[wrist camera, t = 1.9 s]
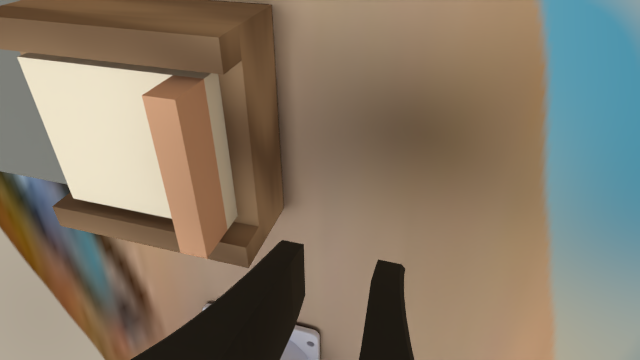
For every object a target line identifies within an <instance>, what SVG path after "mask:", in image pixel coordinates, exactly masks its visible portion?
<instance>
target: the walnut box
mask: <svg viewBox="0 0 640 360" xmlns="http://www.w3.org/2000/svg"><path fill="white" fill-rule="evenodd" d="M0 49H3V50H11V51H20V54H21V55H23V54H25V53H28V52H29V53H37V54H46V55H55V56H64V57H72V58H81V59H90V60H99V61H107V62H116V63H125V64H133V65H142V66H151V67H160V68H168V69H177V70H186V71H195V72H203V73H212V74H218V77H219V84H220V91H221V98H222V106H223V113H224V120H225V128H226V135H227V142H228V149H229V157H230V164H231V171H232V179H233V186H234V193H235V200H236V208H237V215H238V216H237V217H236V219H235V220H234V222H233V223H232V225H231V226H230V227H229V229H228V230H227V232H226V233H225V234H224V236H223V237H222V239H221V240H220V241H219V243H218V244H217V246H216V247H215V248H214V250H213V251H212V253H211V254H210V256H209V257H208V258H207V259H211V260H216V261H220V262H224V263H229V264H233V265H238V266H242V267H247V268H249V266H250V265H251V263H252V261H253V260H254V258H255V256H256V255H257V253H258V251H259V249H260V248H261V246H262V244H263V243H264V241H265V239H266V238H267V236H268V234H269V232H270V231H271V229H272V227H273V226H274V224H275V222H276V221H277V219H278V217H279V215H280V214H281V212H282V210H283V209H284V204H283V187H282V171H281V154H280V138H279V121H278V105H277V88H276V71H275V55H274V38H273V22H272V5H267V4H253V3H239V2H225V1H211V0H20V1H16V2H12V3H9V4H5V5H1V6H0ZM52 207H53V209H54V211H55V214H56V216H57V218H58V220H59V223H60V225H61V226H64V227H68V228H73V229H77V230H82V231H86V232H91V233H95V234H100V235H104V236H109V237H113V238H118V239H122V240H126V241H131V242H135V243H140V244H144V245H149V246H153V247H158V248H162V249H167V250H171V251H175V252H180V249H179V245H178V241H177V237H176V233H175V229H174V225H173V221H172V219H171V218H166V217H161V216H157V215H152V214H147V213H142V212H137V211H132V210H127V209H122V208H118V207H113V206H108V205H103V204H98V203H93V202H88V201H83V200H79V199H74V198H73V197H72V194H71V192H70V193H69V194H68V195H67V196H65V197H64V198H63V199H61V200H60V201H59V202H57V203H56V204H55V205H54V206H52Z"/></svg>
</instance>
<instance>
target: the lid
mask: <svg viewBox="0 0 640 360" xmlns="http://www.w3.org/2000/svg"><path fill="white" fill-rule="evenodd" d="M17 58H18V61H19V63H20V66H21V68H22V71H23V73H24V76H25V78H26V81H27V83H28V86H29V88H30V91H31V93H32V96H33V98H34V101H35V103H36V106H37V108H38V111H39V113H40V116H41V118H42V121H43V123H44V126H45V129H46V131H47V134H48V136H49V139H50V141H51V144H52V146H53V149H54V151H55V154H56V156H57V159H58V161H59V164H60V166H61V169H62V171H63V174H64V176H65V179H66V181H67V184H68V186H69V189H70V191H71V194H72V197H73V198H74V199H79V200H83V201H88V202H93V203H98V204H103V205H108V206H113V207H118V208H122V209H127V210H132V211H137V212H142V213H147V214H152V215H157V216H161V217H166V218H171V219H172V221H173V225H174V229H175V233H176V237H177V241H178V245H179V249H180V253H184V254H188V255H193V256H197V257H202V258H206V259H207V258H208V257H209V256H210V254H211V253H212V251H213V250H214V248H215V247H216V246H217V244H218V243H219V241H220V240H221V239H222V237H223V236H224V234H225V233H226V232H227V230H228V229H229V227H230V226H231V225H232V223H233V222H234V220H235V219H236V217H237V216H238V215H237V208H236V200H235V193H234V186H233V179H232V171H231V164H230V157H229V149H228V142H227V135H226V128H225V120H224V113H223V106H222V98H221V91H220V84H219V77H218V74H212V73H203V72H195V71H186V70H177V69H168V68H160V67H151V66H142V65H133V64H125V63H116V62H107V61H99V60H90V59H81V58H72V57H64V56H55V55H46V54H37V53H29V52H28V53H25V54H23V55H20V56H18V57H17Z"/></svg>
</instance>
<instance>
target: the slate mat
mask: <svg viewBox="0 0 640 360" xmlns="http://www.w3.org/2000/svg"><path fill="white" fill-rule="evenodd" d="M16 1H20V0H0V6H1V5H5V4H9V3H12V2H16ZM20 55H21V54H20V51H11V50H3V49H0V171H2V172H7V173H13V174H18V175H23V176H28V177H33V178H38V179H43V180H48V181H53V182H58V183H63V184H67V181H66V179H65V176H64V174H63V171H62V169H61V166H60V164H59V161H58V159H57V156H56V154H55V151H54V149H53V146H52V144H51V141H50V139H49V136H48V134H47V131H46V129H45V126H44V123H43V121H42V118H41V116H40V113H39V111H38V108H37V106H36V103H35V101H34V98H33V96H32V93H31V91H30V88H29V86H28V83H27V81H26V78H25V76H24V73H23V71H22V68H21V66H20V63H19V61H18V58H17V57H18V56H20Z"/></svg>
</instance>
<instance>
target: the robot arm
mask: <svg viewBox="0 0 640 360" xmlns="http://www.w3.org/2000/svg"><path fill="white" fill-rule="evenodd" d="M404 272H405V268H404V267H403V266H402V265H401V264H397V263H392V262H387V261H382V260H378V262H377V264H376V267H375V270H374V274H373V277H372V280H371V286H370V293H369V299H368V306H367V313H366V320H365V326H364V333H363V340H362V347H361V352H360V357H359V360H414V357H413V352H412V347H411V342H410V337H409V331H408V325H407V319H406V311H405V300H404ZM304 297H305V275H304V244H299V243H294V242H289V241H284V240H282V241H281V242H279V243H278V244H277V245H276V246H275V247H274V248H273V249H272V250H271V251H270V252H269V253H268V254H267V255H266V256H265V257H264V258H263V259H262V260H261V261H260V262H259V263H258V264H257V265H256V266H255V267H254V268H252V269H251V270H250V271H249V272H248V273H247V274H246V275H245V276H244V277H243V278H242V279H240V280H239V281H238V282H237V283H236V284H235V285H234V286H233V287H231V288H230V289H229V290H228V291H227V292H226V293H225V294H223V295H222V296H221V297H220V298H218V299H217V300H216V301H215V302H213V303H212V304H205V306H204V307H203V309H202V312H201V313H200V314H198V315H197V316H196V317H194V318H193V319H192V320H190V321H189V322H188V323H186V324H185V325H184V326H182V327H181V328H179V329H178V330H176V331H175V332H173V333H172V334H171V335H169V336H168V337H166V338H165V339H163V340H162V341H160V342H158V343H157V344H155V345H154V346H152V347H150V348H149V349H147V350H146V351H144V352H143V353H141V354H139V355H138V356H136V357H134V358H133V359H131V360H320V335H319V333H318V332H317V331H315V330H313V329H309V328H305V327H301V326H297V325H296V322H297V319H298V316H299V313H300V310H301V306H302V303H303V300H304Z"/></svg>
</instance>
